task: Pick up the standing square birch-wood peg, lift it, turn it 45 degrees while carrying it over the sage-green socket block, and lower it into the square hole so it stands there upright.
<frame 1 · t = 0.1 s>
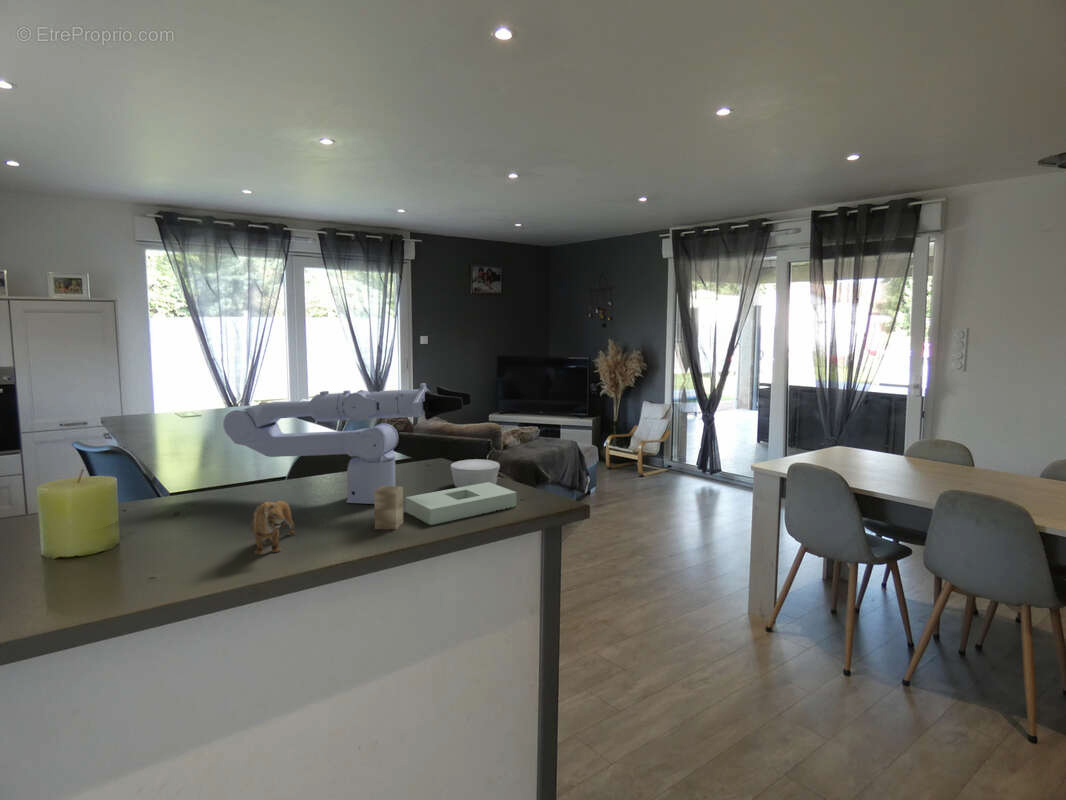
hand: (466, 400, 127), 22 cm above the table, tool horizontal, fingers open, 7 cm apart
peg: (389, 525, 115), on the table
socket block: (462, 509, 126), on the table
ramekin: (475, 487, 144), on the table
orange animal figure: (276, 547, 104), on the table
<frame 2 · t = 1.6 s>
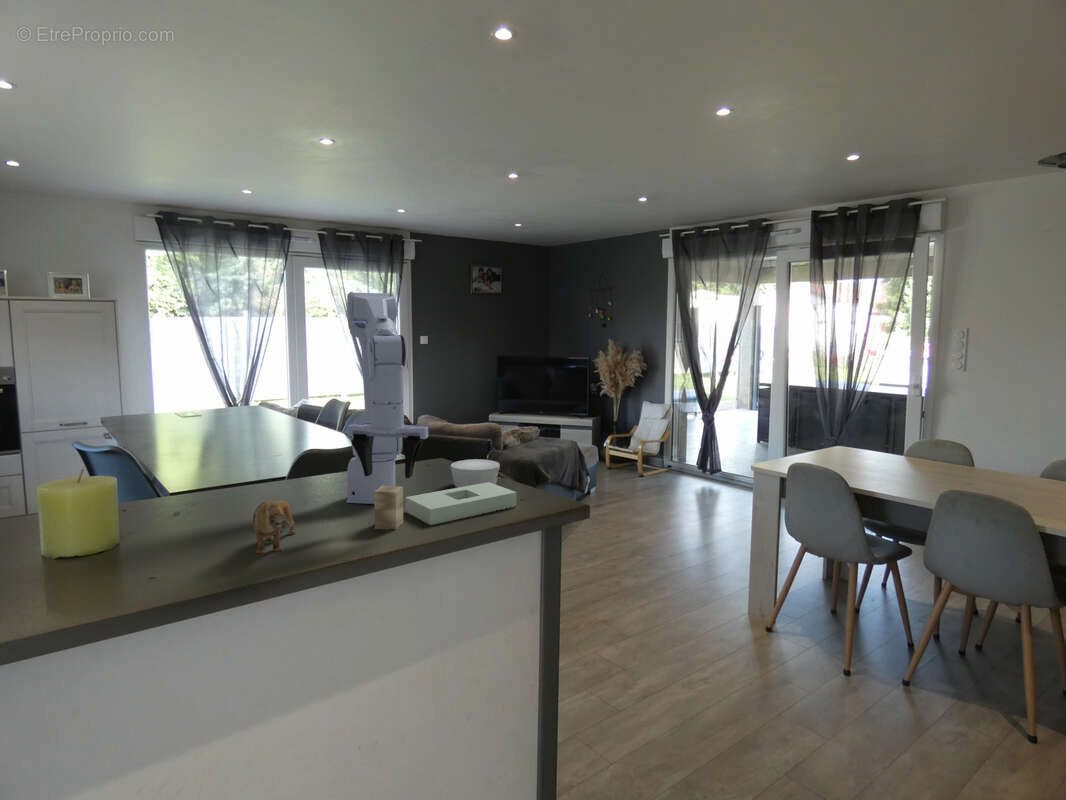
hand: (388, 475, 114), 9 cm above the table, tool pointing down, fingers open, 7 cm apart
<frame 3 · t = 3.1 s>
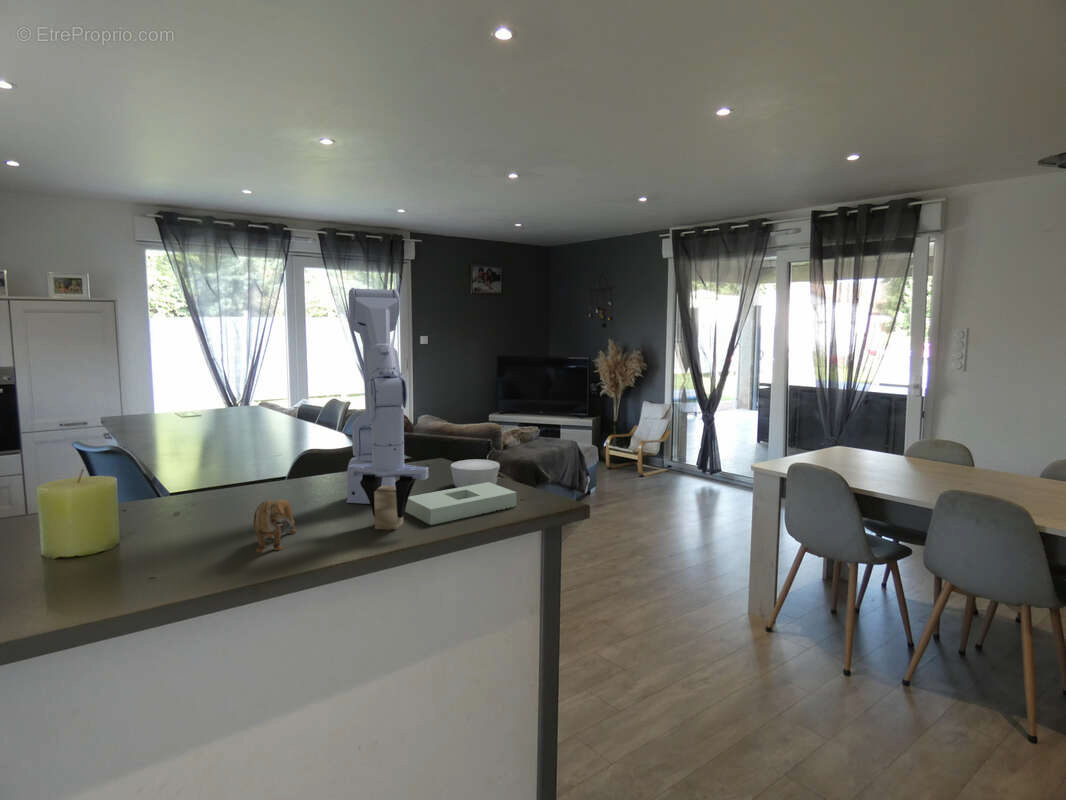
hand: (389, 515, 115), 2 cm above the table, tool pointing down, fingers closed on peg, 4 cm apart
peg: (389, 525, 115), on the table, touching gripper
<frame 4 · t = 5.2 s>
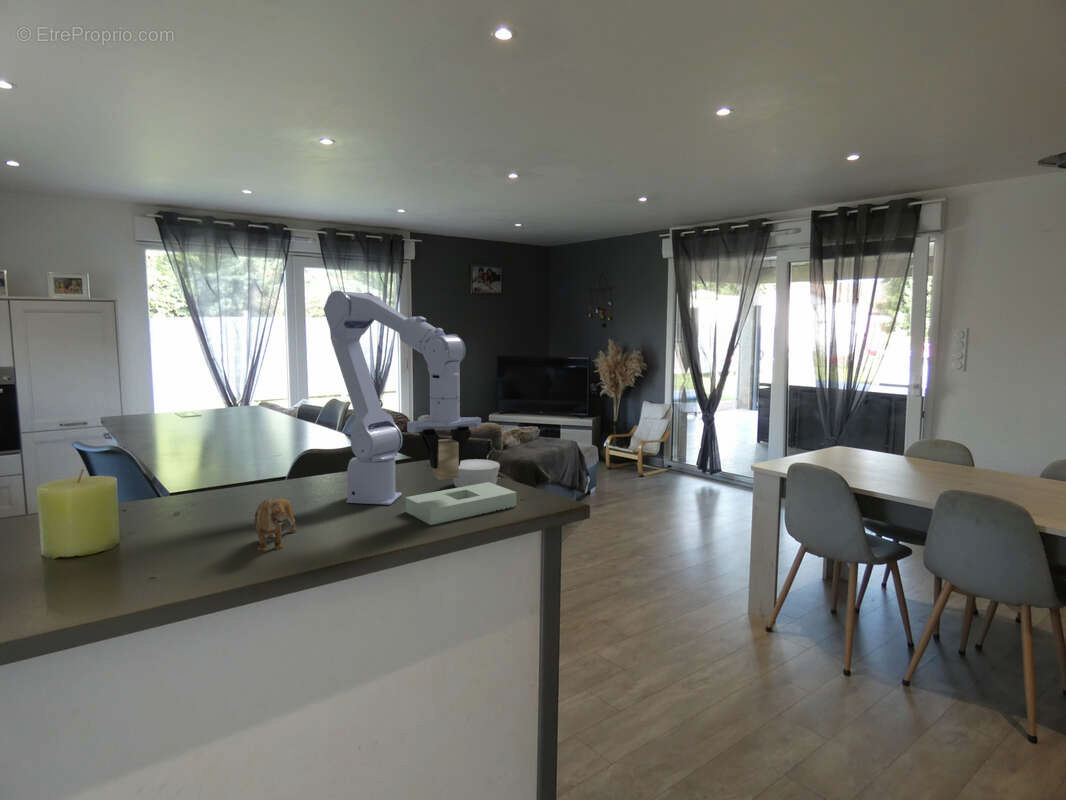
hand: (445, 466, 122), 9 cm above the table, tool pointing down, fingers closed on peg, 4 cm apart
peg: (445, 476, 122), point 7 cm above the table, touching gripper
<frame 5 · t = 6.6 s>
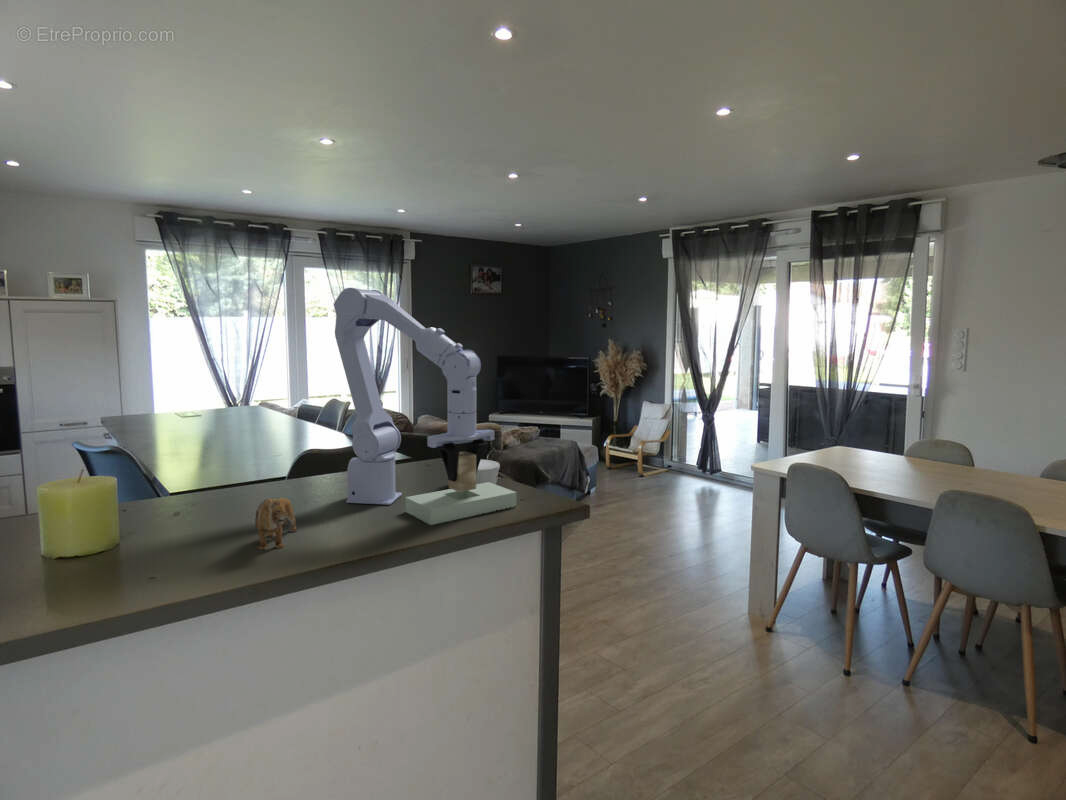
hand: (462, 478, 125), 6 cm above the table, tool pointing down, fingers closed on peg, 4 cm apart
peg: (462, 488, 125), point 4 cm above the table, touching gripper
when the fingers open (4 cm above the table, at t = 7.5 s): peg drops 2 cm, resting in socket block.
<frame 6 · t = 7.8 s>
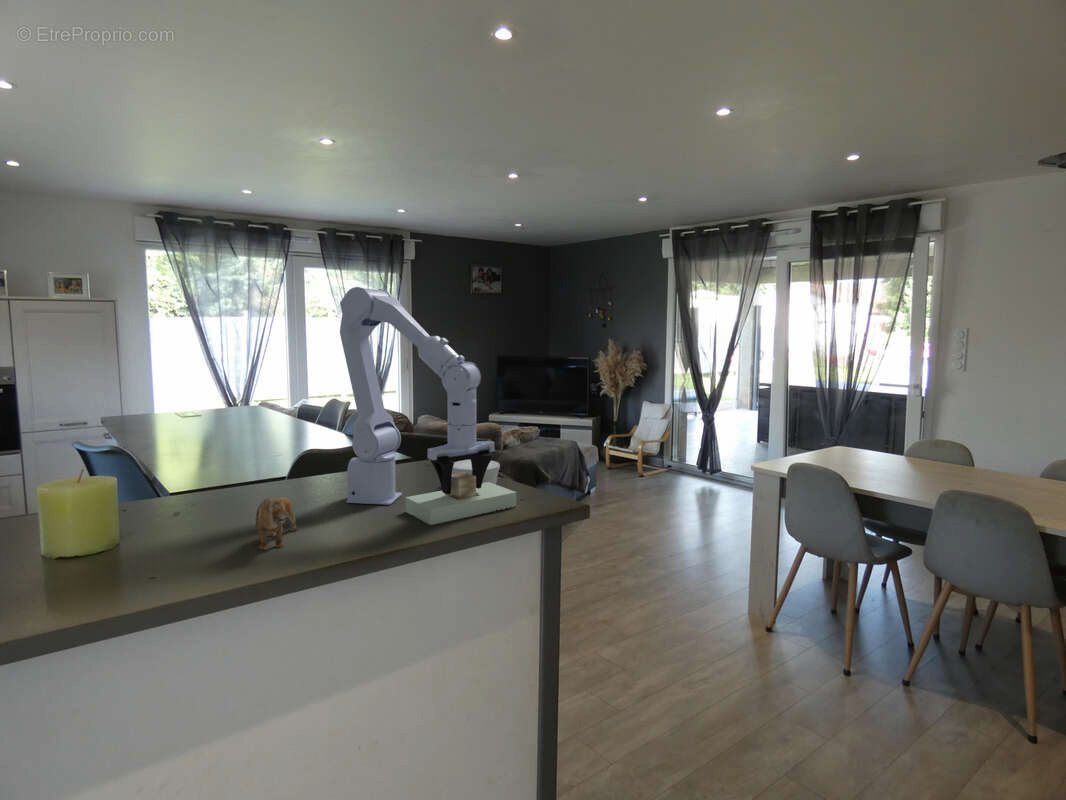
hand: (462, 490, 125), 4 cm above the table, tool pointing down, fingers open, 7 cm apart
peg: (462, 509, 126), resting in socket block
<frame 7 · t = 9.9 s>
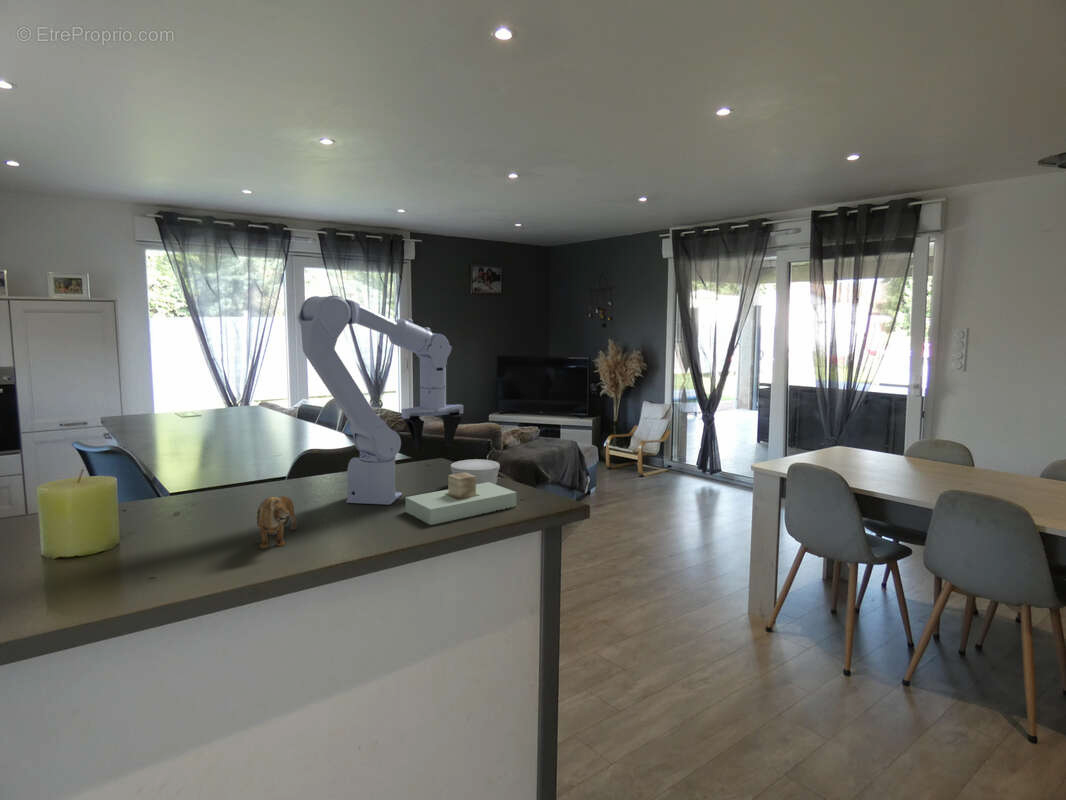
hand: (433, 447, 140), 9 cm above the table, tool pointing down, fingers open, 7 cm apart
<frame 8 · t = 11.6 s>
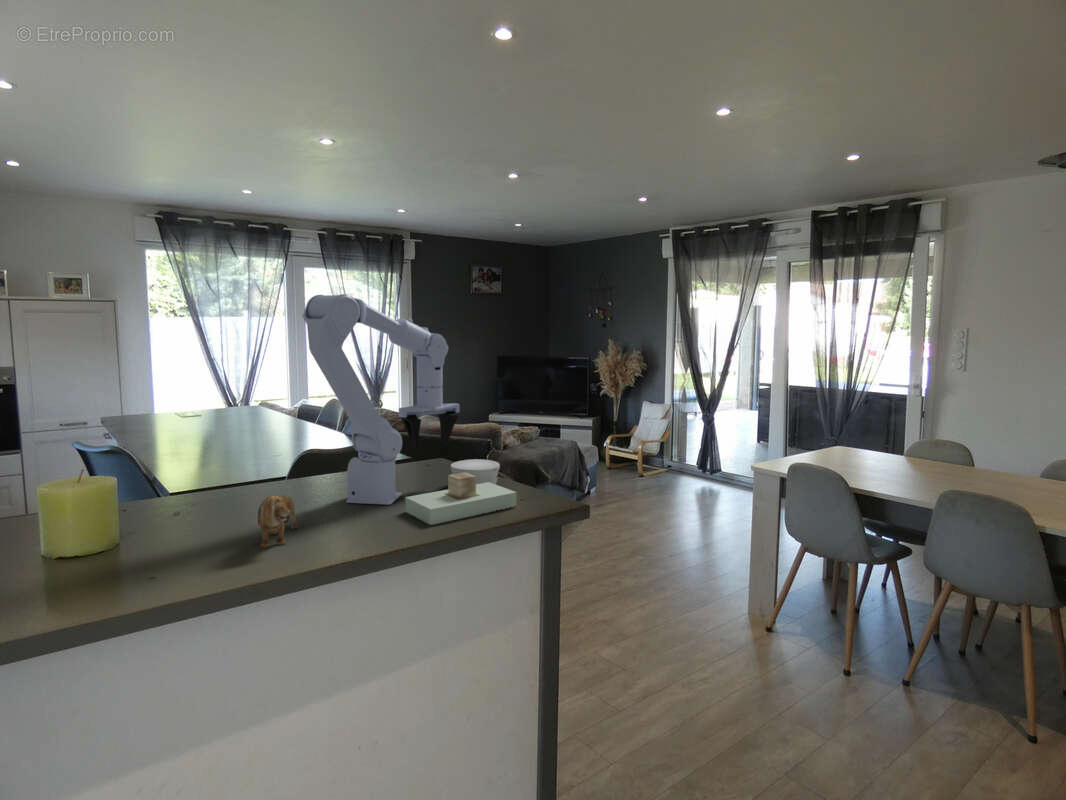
hand: (430, 446, 142), 9 cm above the table, tool pointing down, fingers open, 7 cm apart
at the end: peg 0.1 cm off-centre on the socket block, point 0.0 cm above the socket block's base; peg tilted 0°; the gripper is holding nothing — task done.
